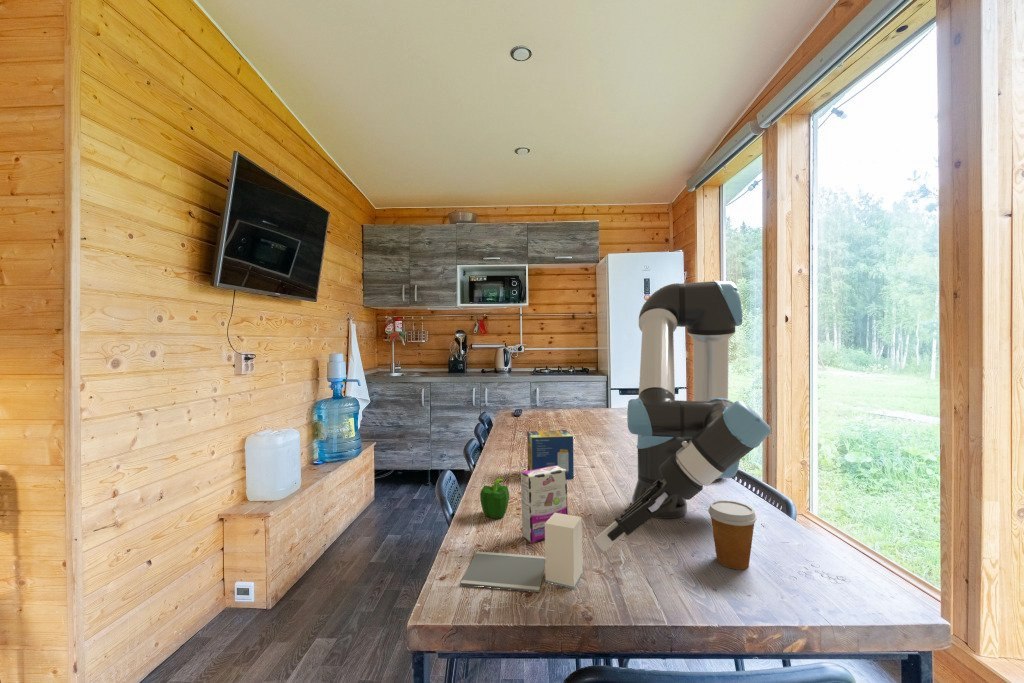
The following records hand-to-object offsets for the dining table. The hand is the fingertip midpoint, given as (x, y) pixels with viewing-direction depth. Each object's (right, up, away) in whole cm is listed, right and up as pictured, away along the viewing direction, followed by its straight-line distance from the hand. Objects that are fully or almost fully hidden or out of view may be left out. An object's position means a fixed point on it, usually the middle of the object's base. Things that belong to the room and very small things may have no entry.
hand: (599, 544), depth 85 cm
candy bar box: (-9, -9, +23) cm, 26 cm away
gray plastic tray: (-19, -9, +6) cm, 22 cm away
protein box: (-4, -9, +71) cm, 71 cm away
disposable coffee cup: (+31, -8, +9) cm, 33 cm away
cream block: (-7, -8, +3) cm, 11 cm away
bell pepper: (-22, -9, +36) cm, 43 cm away
